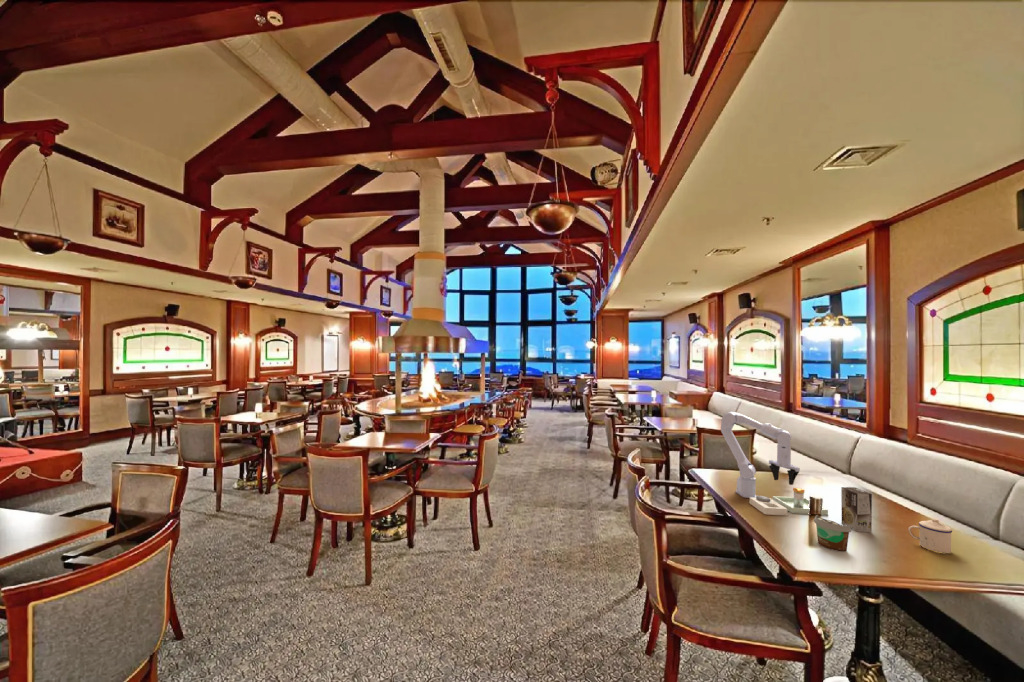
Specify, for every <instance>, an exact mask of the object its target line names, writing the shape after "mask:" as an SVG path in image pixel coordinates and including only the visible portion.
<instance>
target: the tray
mask: <svg viewBox="0 0 1024 682" xmlns="http://www.w3.org/2000/svg"><path fill="white" fill-rule="evenodd" d="M772 500H774V501H775V502H777V503H779V504H780V505H782V506H783V507H785V508H787V509H788V510H787V512H790V513H791V514H793V515H794V514H795V515H797V514H798V515H809V514H808V513H809V511H810V508H809V507H808V504H809V500H810V499H808V498H807V497H804V507H803V508H796V507H794V506H793V505H794V496H774V495H773V496H772ZM828 515H829V511H828V509H827V508H826V507H823V506H822V510H821V515H820V516H828Z"/></svg>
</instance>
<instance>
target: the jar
mask: <svg viewBox="0 0 1024 682" xmlns="http://www.w3.org/2000/svg"><path fill="white" fill-rule="evenodd" d="M792 491H793V497H794V505H793V506H794V507H796V508H803V507H804V498H805V497H804V495H805V492H806V491H805V489H803V488H801V487H793V488H792Z"/></svg>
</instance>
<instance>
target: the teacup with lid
mask: <svg viewBox="0 0 1024 682" xmlns="http://www.w3.org/2000/svg"><path fill="white" fill-rule="evenodd" d="M918 525H919V526H918ZM918 525H911V526H909V527H908V532H909V535H910V536H911V537H912V538H914V539H916V540H919V546H920V545H921V546H922V547H925V548H927V549H930V550H933V551H937V552H942V553H950V552H951V553H952V532H953V530H952V528H951V527H949V526H948V525H946V524H944V523H942V522H940V520H939V519H938V518H933V517H932V518H931V519H929V520H922V521H921V520H920V521H919V522H918ZM912 529H918V530H919V537H918V536H916V535H914V534H913V533H912V532H913V531H912ZM921 546H920V547H921ZM922 547H921V548H922ZM951 553H950V554H951Z"/></svg>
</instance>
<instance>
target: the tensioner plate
mask: <svg viewBox="0 0 1024 682" xmlns="http://www.w3.org/2000/svg"><path fill="white" fill-rule="evenodd" d="M749 504H750V505H752V507H754V508H756V510H758V511H760V512H761V513H762V514H764V515H769V516H771V515H772V516H788V509H787V508H785V507H783V506H782V505H780V504H779V503H777V502H775V501H774V500H773V498H770V497H768V496H764V495H756V498H753V497H750V498H749Z"/></svg>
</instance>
